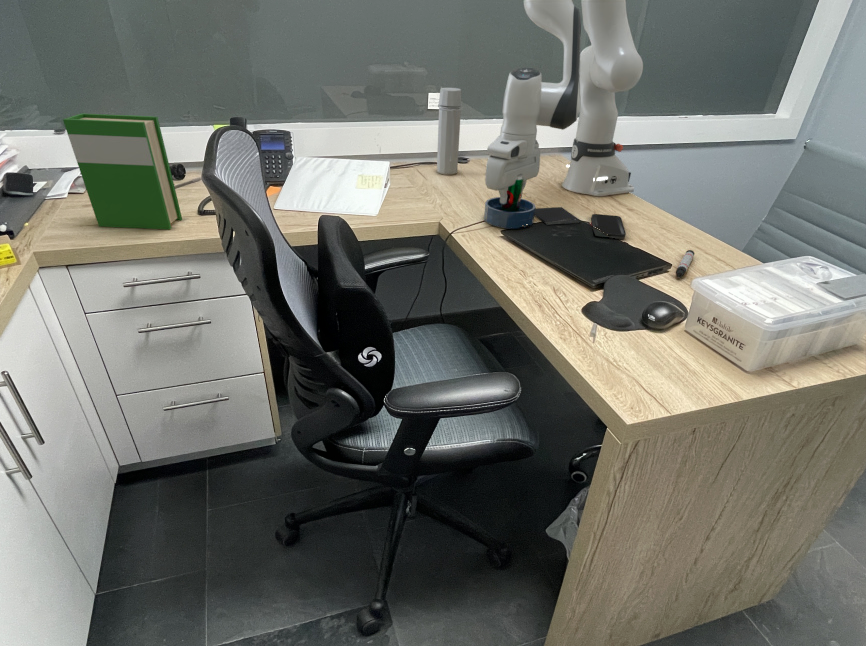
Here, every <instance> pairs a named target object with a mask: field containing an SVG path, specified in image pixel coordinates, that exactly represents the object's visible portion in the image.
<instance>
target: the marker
mask: <svg viewBox="0 0 866 646" xmlns="http://www.w3.org/2000/svg"><path fill="white" fill-rule="evenodd" d="M694 256H695V251H694V250H693V249H689V250H686V252H685V253H684V255H683V256H682V259H681V261H680V262H679V264H678V266H677V268H676V270H675V275H676V278H679V279H680V278H683V277H684V276H685V275H686V273H687V271H688V269H689V267H690V265H691V263H692V261H693V259H694Z"/></svg>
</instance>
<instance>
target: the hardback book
mask: <svg viewBox="0 0 866 646" xmlns="http://www.w3.org/2000/svg"><path fill="white" fill-rule="evenodd" d="M62 121H63V124H64V127H65V131H66V133H67V136H68V140H69V143H70V145H71V148H72V151H73V153H74V157H75V160H76V164H77V166H78V169H79V172H80V174H81V178H82V181H83V184H84V187H85V189H86V190H85V191H86V193H87V196H88V198H89V201H90V204H91V207H92V211H93V214H94V218H95V220H96V222H97V225H98V227H103V228H105V227H106V228H126V229H127V228H128V229H148V230H150V229H151V230H172V223H174V222H175V221H182V220H183V217H182V212H181V208H180V204H179V200H178V196H177V192H176V187H175V184H174V179H173V175H172V171H171V165H170V163H169V158H168V154H167V151H166V146H165V142H164V138H163V134H162V130H161V125H160V121H159V117H158V116H149V115H131V114H130V115H129V114H128V115H127V114H106V113H105V114H104V113H84V112H83V113H78V114H75V115H72V116H69V117H65V118H63V119H62Z"/></svg>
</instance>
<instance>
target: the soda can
mask: <svg viewBox="0 0 866 646" xmlns="http://www.w3.org/2000/svg"><path fill="white" fill-rule="evenodd" d="M522 175H523V174H522ZM522 175H518V176H517V179H516V181H515V184H514V185H512V186H509V187H508V191H507V196H509V202H508V203H506V204H502V203H501V207H500V211H506V212H519V210H520V202H521V199H522V197H521V194H522V195H523V191H522V186H523V176H522Z"/></svg>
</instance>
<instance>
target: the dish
mask: <svg viewBox="0 0 866 646" xmlns="http://www.w3.org/2000/svg"><path fill="white" fill-rule="evenodd" d="M536 206H537V205H536V204H535V203H534V202H533V201H531V200H528V199H526V198H521V202H520V210H519V212H506V211H500V207H501V203H500V196H496V197H491V198H489V199H487V200H486V201H485V202H484V211H483V221H485V223H487V224H489V225H491V226H494V227H496V228H502V229H508V230H509V229H512V230H515V229H520V228H519V227H522V225H524V226H526V224H528V225H530V226H532V225H533V224H534V223H535V217H536V216H535V209H536V208H537V207H536Z"/></svg>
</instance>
